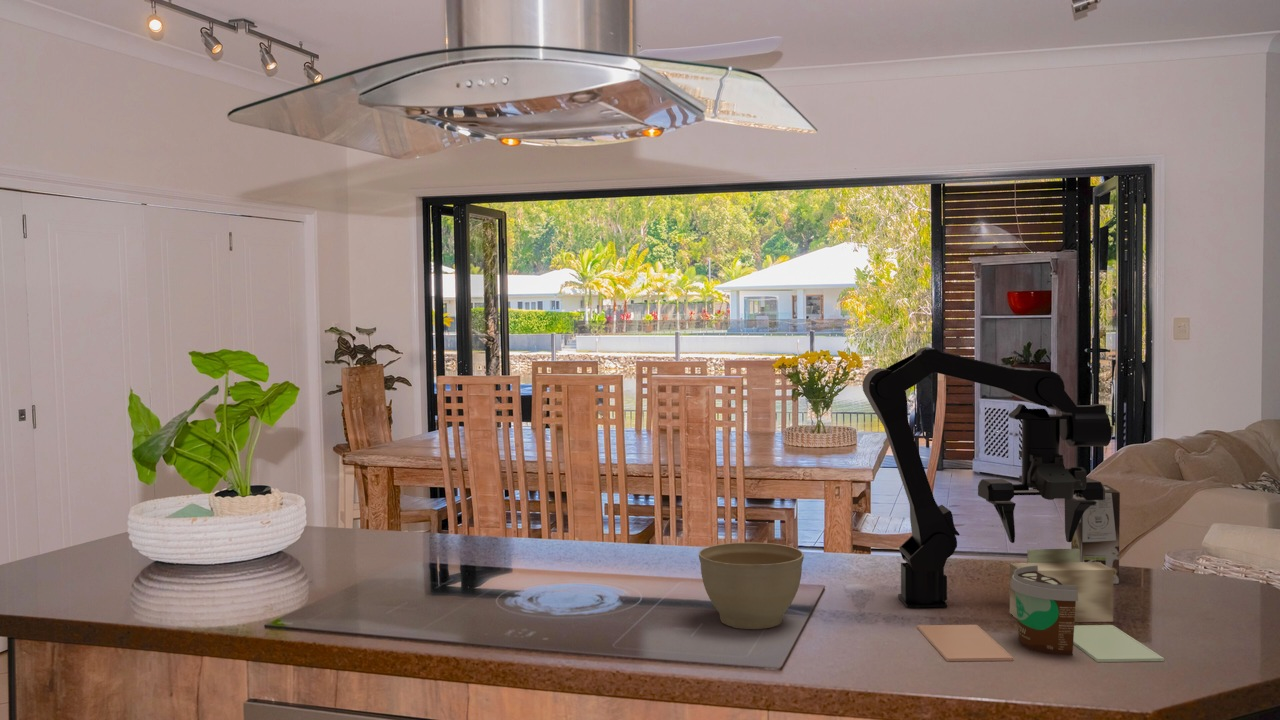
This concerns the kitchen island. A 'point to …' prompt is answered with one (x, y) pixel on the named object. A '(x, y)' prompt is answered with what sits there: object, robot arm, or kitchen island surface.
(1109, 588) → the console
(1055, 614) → the food container
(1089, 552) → the coffee box
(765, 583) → the planter bowl
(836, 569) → the kitchen island surface
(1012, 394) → the robot arm
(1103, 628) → the sage bay
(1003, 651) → the plate
